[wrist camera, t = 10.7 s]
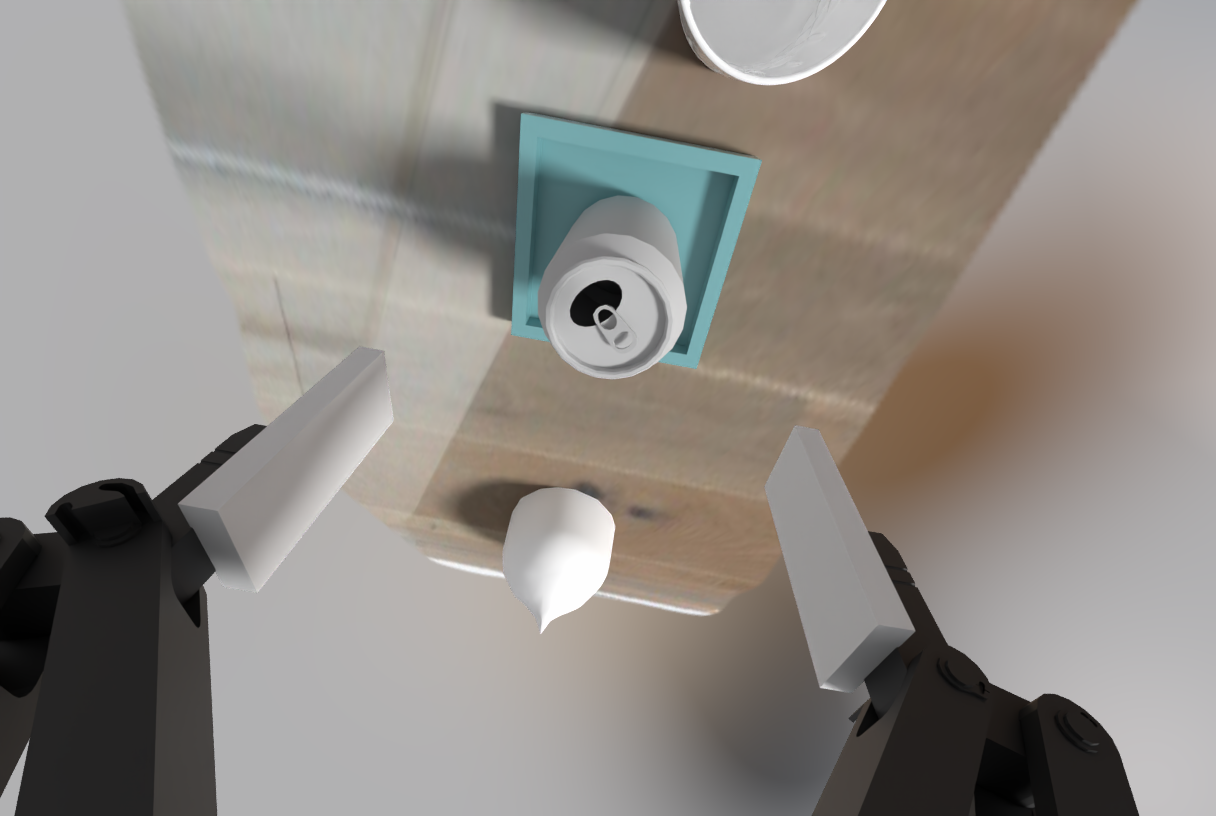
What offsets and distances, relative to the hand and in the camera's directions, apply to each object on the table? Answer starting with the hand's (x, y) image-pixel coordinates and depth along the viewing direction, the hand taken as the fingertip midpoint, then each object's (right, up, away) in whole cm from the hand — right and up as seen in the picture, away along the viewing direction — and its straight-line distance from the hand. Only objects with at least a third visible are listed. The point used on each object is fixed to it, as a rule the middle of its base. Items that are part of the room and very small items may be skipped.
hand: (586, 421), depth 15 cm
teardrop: (-4, -12, +34) cm, 36 cm away
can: (+2, +11, +17) cm, 20 cm away
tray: (+2, +11, +17) cm, 21 cm away
